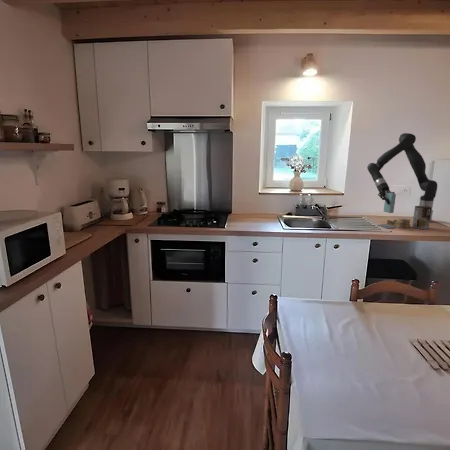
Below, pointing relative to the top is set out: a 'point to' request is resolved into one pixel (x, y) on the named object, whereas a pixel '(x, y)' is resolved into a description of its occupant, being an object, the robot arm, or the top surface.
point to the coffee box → (421, 217)
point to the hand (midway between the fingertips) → (391, 203)
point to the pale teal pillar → (390, 207)
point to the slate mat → (387, 226)
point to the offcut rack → (400, 223)
